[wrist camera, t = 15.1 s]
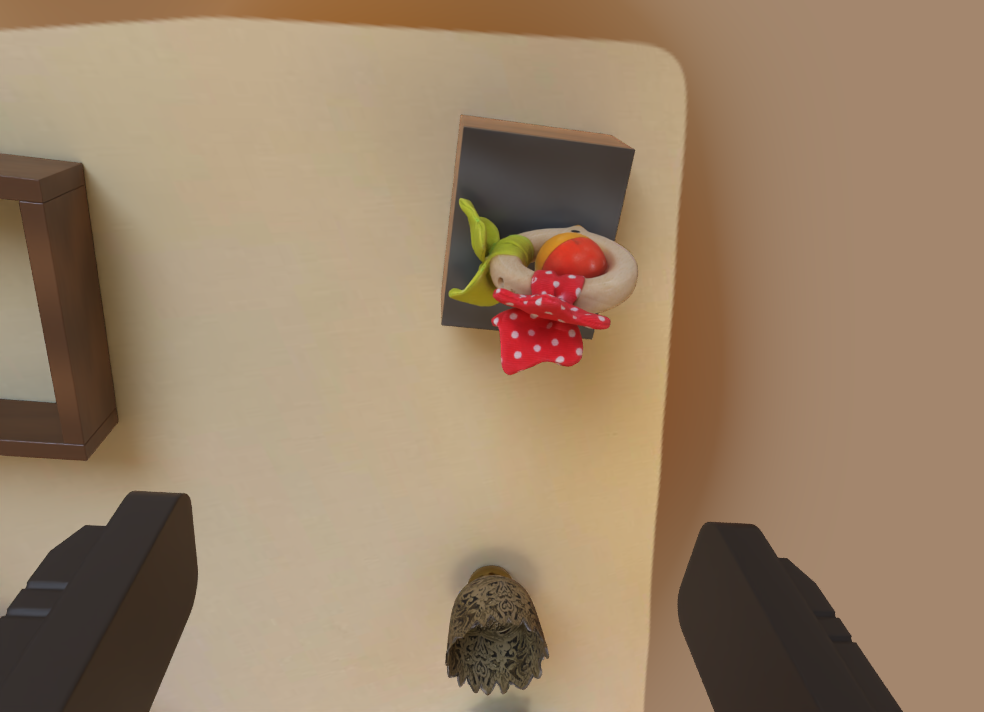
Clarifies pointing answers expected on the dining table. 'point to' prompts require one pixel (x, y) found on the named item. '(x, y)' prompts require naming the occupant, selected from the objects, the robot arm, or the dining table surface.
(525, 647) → the cup
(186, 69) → the dining table surface
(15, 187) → the crate
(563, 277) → the teething ring toy
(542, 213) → the block
